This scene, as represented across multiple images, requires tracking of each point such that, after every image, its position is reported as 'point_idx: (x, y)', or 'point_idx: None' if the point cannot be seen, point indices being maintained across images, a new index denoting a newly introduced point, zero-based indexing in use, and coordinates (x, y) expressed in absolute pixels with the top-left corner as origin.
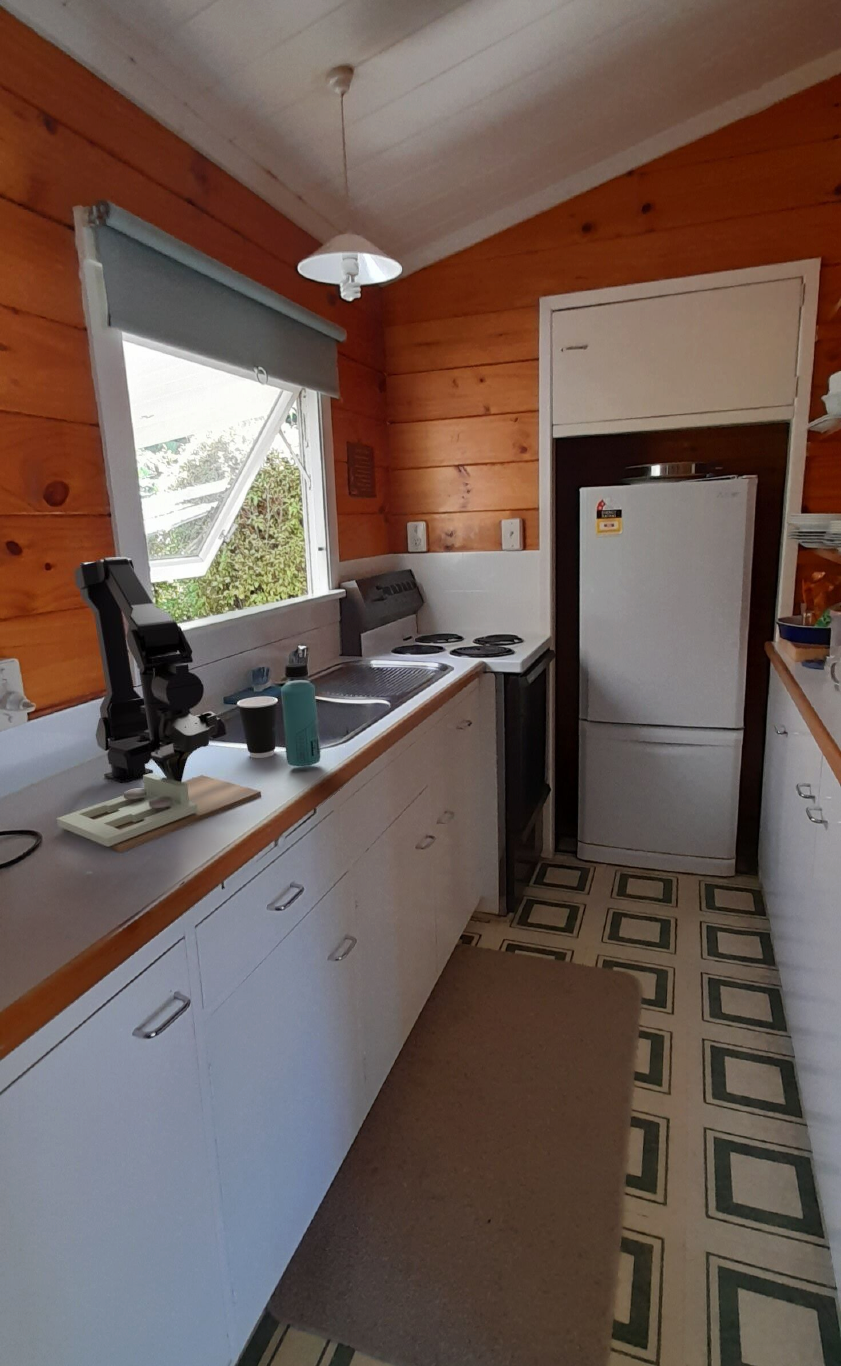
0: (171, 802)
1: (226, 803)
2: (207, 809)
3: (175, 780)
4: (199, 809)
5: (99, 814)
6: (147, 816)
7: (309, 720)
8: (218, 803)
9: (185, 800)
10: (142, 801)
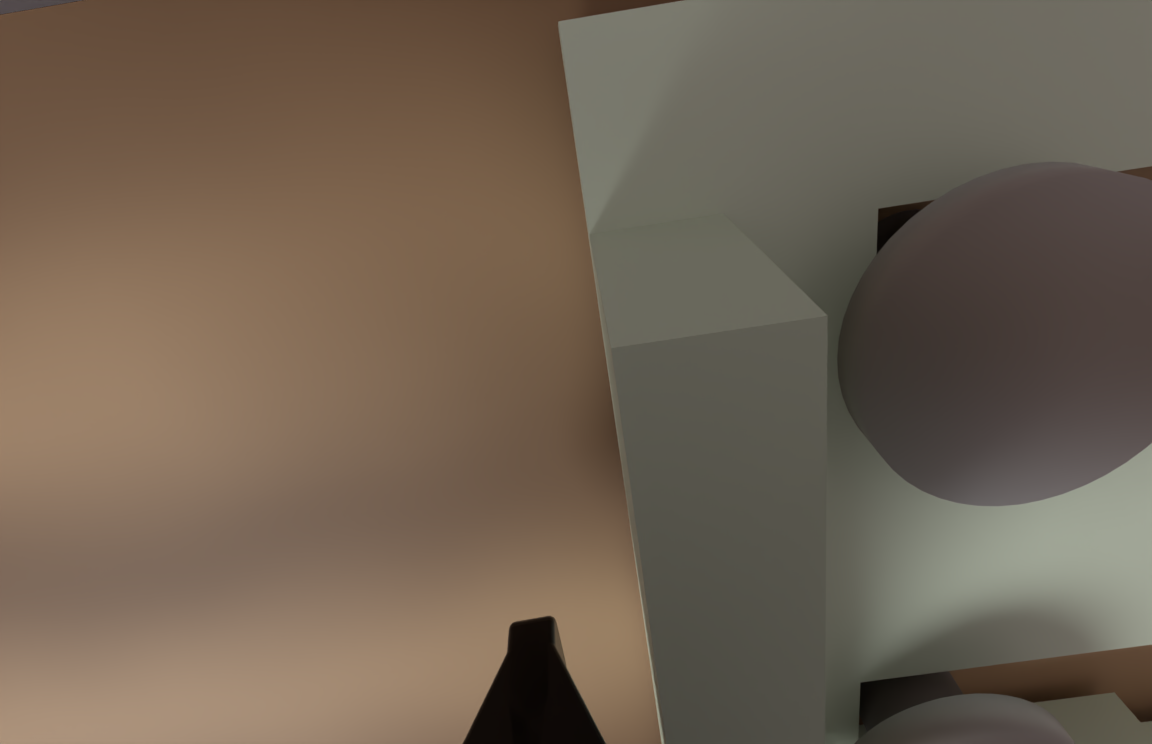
0: (928, 219)
1: (90, 56)
2: (396, 57)
3: (593, 732)
4: (478, 148)
5: None
6: None
7: None
8: (191, 149)
9: (657, 234)
10: (924, 654)
